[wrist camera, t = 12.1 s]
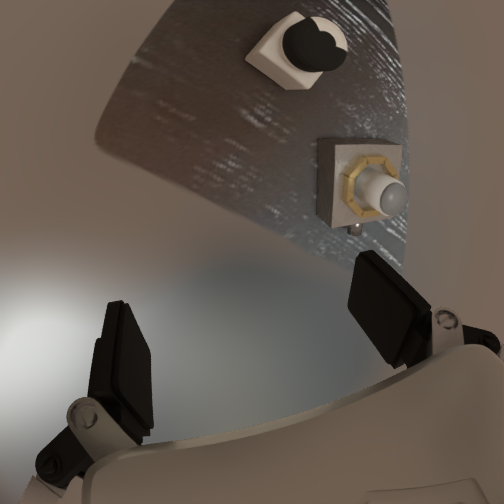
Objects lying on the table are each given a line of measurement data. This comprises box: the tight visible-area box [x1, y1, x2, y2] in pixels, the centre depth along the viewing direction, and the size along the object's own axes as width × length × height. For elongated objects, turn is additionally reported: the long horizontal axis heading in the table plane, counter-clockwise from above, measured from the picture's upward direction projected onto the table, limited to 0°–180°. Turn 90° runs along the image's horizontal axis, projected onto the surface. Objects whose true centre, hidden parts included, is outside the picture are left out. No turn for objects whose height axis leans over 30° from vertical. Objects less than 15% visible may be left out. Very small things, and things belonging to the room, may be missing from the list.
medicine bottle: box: [245, 12, 347, 90], centre depth 25 cm, size 7×7×12 cm
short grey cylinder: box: [355, 168, 407, 216], centre depth 34 cm, size 5×5×6 cm
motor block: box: [316, 138, 402, 236], centre depth 39 cm, size 15×12×6 cm
